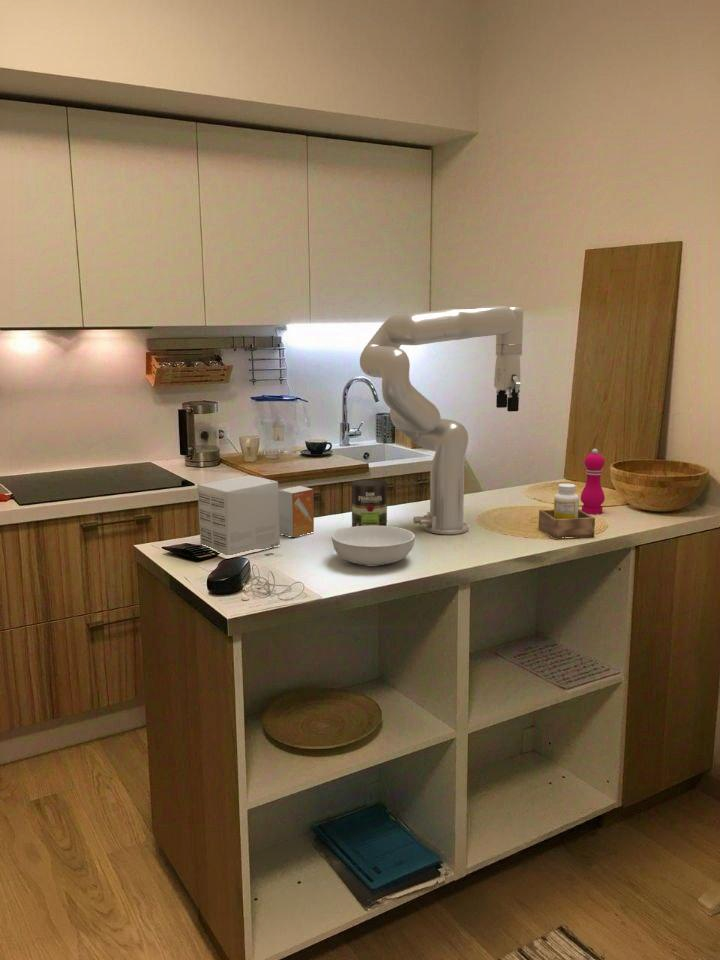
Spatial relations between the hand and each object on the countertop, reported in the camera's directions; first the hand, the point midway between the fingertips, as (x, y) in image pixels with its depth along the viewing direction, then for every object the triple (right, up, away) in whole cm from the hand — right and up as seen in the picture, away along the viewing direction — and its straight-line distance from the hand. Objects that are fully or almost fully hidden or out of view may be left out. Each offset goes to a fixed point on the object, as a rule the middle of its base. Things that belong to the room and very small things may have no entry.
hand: (507, 409), depth 236 cm
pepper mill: (+29, -31, +15) cm, 45 cm away
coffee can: (-40, -35, -5) cm, 54 cm away
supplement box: (-75, -39, -22) cm, 88 cm away
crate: (+15, -36, -9) cm, 40 cm away
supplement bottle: (+15, -35, -9) cm, 39 cm away
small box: (-61, -36, -8) cm, 72 cm away
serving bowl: (-40, -41, -33) cm, 66 cm away
